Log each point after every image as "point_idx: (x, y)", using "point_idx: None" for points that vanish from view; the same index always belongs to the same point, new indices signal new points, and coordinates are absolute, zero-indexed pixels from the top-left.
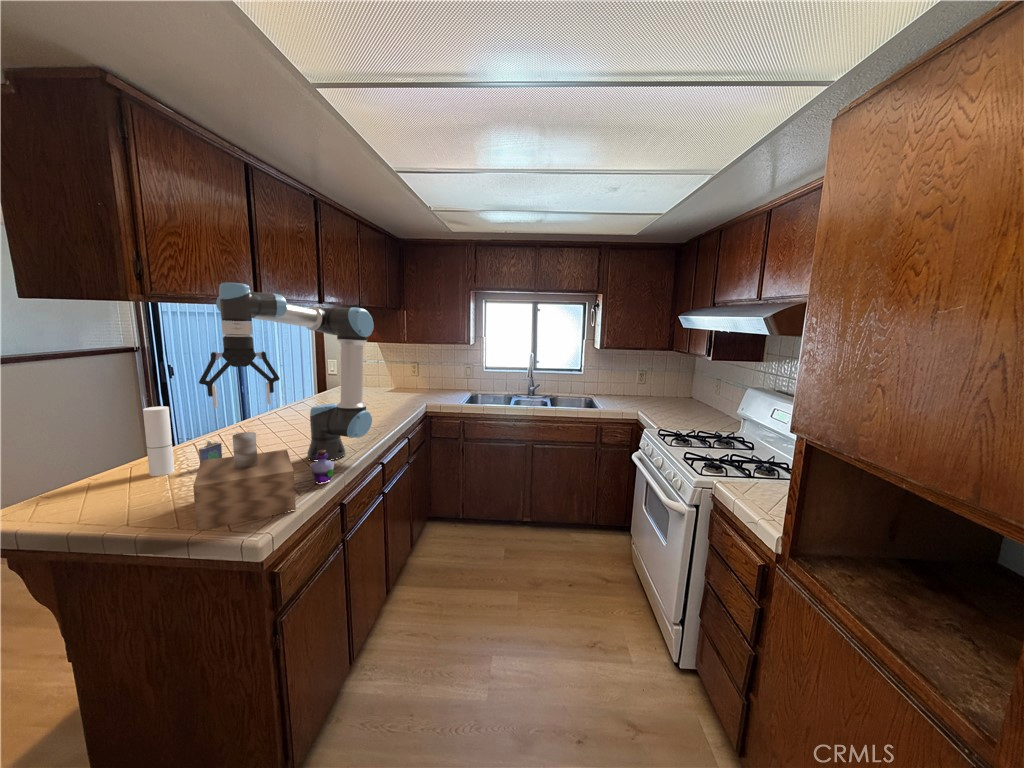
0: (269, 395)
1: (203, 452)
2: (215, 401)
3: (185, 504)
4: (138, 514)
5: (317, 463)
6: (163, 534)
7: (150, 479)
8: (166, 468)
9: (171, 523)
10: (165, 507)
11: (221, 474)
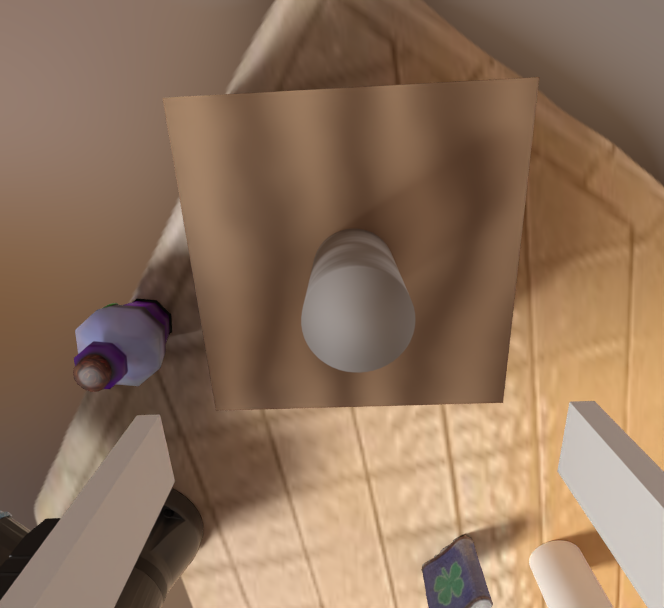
0: (96, 476)
1: (477, 588)
2: (613, 442)
3: None
4: (608, 298)
5: (129, 344)
6: (556, 117)
7: (580, 526)
8: (553, 559)
9: (538, 191)
10: (550, 317)
11: (439, 189)
